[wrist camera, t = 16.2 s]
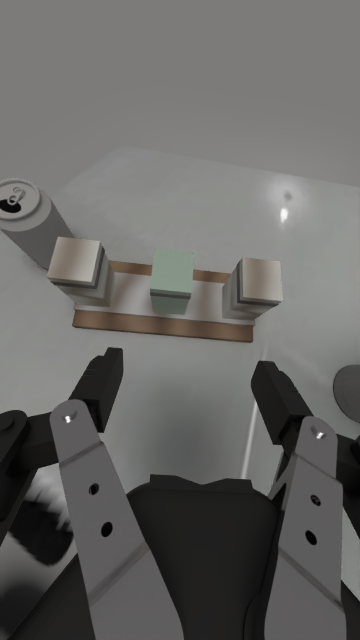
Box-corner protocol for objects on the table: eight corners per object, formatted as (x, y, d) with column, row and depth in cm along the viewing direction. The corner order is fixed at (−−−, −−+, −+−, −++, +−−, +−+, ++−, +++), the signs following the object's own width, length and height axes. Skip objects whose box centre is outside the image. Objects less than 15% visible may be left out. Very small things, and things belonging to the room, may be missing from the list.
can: (27, 262, 35) (-38, 206, 24) (51, 229, 37) (2, 163, 26) (66, 279, 35) (20, 230, 23) (88, 245, 37) (56, 185, 26)
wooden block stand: (248, 279, 38) (281, 241, 27) (250, 342, 35) (288, 327, 24) (89, 262, 36) (59, 214, 26) (75, 327, 33) (34, 303, 22)
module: (186, 284, 34) (194, 252, 26) (184, 315, 33) (192, 293, 24) (156, 280, 34) (154, 247, 25) (152, 312, 32) (149, 288, 24)
